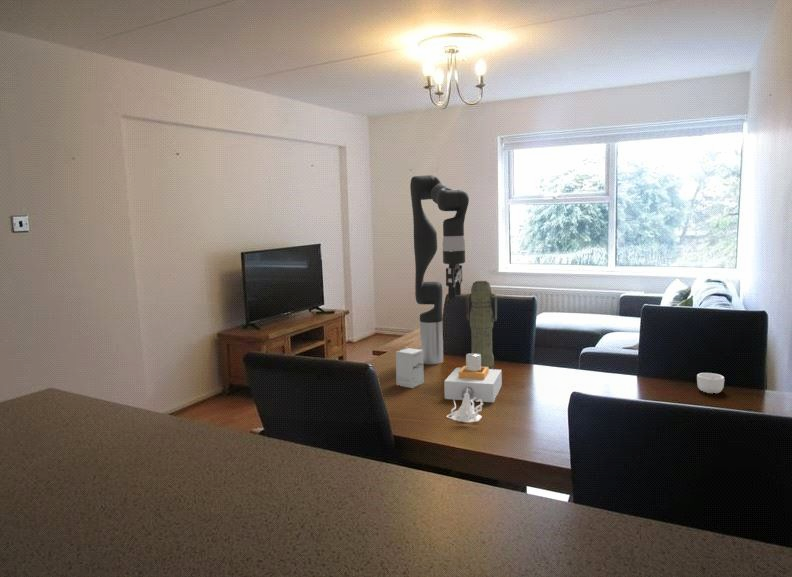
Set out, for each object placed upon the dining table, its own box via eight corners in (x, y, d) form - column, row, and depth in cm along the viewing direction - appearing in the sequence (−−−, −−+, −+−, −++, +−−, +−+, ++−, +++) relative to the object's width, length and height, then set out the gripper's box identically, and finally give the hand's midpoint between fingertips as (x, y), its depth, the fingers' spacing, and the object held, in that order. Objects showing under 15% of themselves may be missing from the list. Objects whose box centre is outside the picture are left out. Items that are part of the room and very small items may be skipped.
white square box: (456, 383, 198) (456, 361, 197) (501, 386, 193) (501, 364, 192) (441, 402, 177) (441, 378, 176) (491, 406, 172) (491, 381, 171)
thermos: (467, 368, 219) (466, 280, 215) (498, 369, 216) (497, 280, 212) (465, 374, 210) (463, 282, 206) (497, 375, 207) (496, 282, 203)
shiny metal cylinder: (467, 381, 190) (467, 352, 189) (482, 382, 188) (482, 353, 187) (465, 385, 185) (464, 356, 184) (479, 386, 183) (479, 357, 182)
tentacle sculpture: (453, 410, 170) (452, 381, 169) (491, 415, 164) (491, 385, 163) (442, 420, 162) (442, 389, 161) (482, 425, 156) (481, 393, 155)
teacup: (726, 396, 175) (726, 380, 174) (698, 394, 177) (699, 378, 177) (719, 387, 184) (720, 372, 183) (693, 386, 187) (694, 370, 186)
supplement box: (412, 389, 193) (411, 353, 192) (395, 385, 198) (394, 351, 196) (424, 384, 199) (423, 349, 197) (408, 381, 203) (407, 347, 202)
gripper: (448, 248, 195) (448, 294, 197) (437, 250, 182) (438, 299, 184) (468, 248, 193) (469, 294, 195) (460, 250, 180) (461, 299, 181)
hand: (454, 296), depth 189 cm, fingers open, 8 cm apart
